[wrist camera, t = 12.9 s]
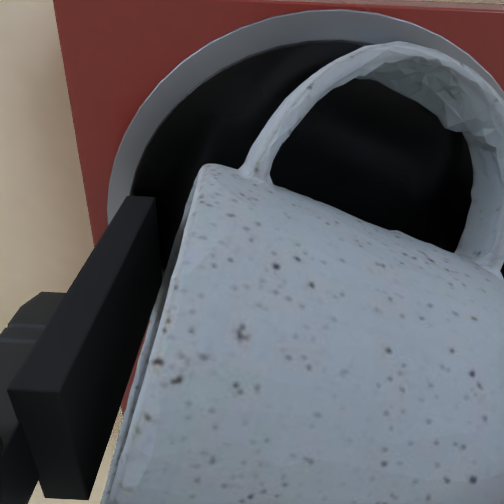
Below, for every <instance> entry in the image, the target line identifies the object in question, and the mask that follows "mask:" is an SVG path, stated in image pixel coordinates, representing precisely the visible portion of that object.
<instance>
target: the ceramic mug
mask: <svg viewBox="0 0 504 504" xmlns="http://www.w3.org/2000/svg"><path fill="white" fill-rule="evenodd" d="M354 78H356V79H371V80H375V81H378V82H380V83H381V84H383V85H385V86H386V87H388V88H390V89H392V90H394V91H396V92H398V93H400V94H402V95H404V96H406V97H408V98H410V99H412V100H414V101H416V102H418V103H419V104H421V105H422V106H424V107H425V108H427V109H428V110H429V111H431V112H432V113H434V114H435V115H436V116H437V117H438V118H439V120H440V122H441V123H442V125H443V126H444V128H446V129H449V130H452V131H455V132H462V133H463V135H464V137H465V139H466V141H467V143H468V147H469V151H470V155H471V160H472V166H473V186H472V190H471V197H472V203H471V206H470V210H469V213H468V216H467V221H466V226H465V229H464V231H463V233H462V236H461V239H460V242H459V245H458V247H457V249H456V251H455V253H451V252H448V251H446V250H443V249H441V248H439V247H437V246H435V245H433V244H430V243H426V242H423V241H420V240H418V239H415V238H413V237H411V236H409V235H406V234H404V233H402V232H400V231H398V230H390V231H389V230H387V229H384V228H381V227H379V226H376V225H373V224H371V223H368V222H365V221H363V220H361V219H359V218H356V217H354V216H352V215H350V214H348V213H346V212H343V211H341V210H339V209H337V208H334V207H332V206H330V205H327V204H325V203H322V202H320V201H315V200H313V199H311V198H310V197H307V196H304V195H301V194H298V193H295V192H292V191H290V190H288V189H286V188H283V187H278V186H276V185H274V184H273V183H272V180H271V177H270V170H271V166H272V163H273V160H274V158H275V156H276V154H277V152H278V150H279V148H280V146H281V145H282V143H283V142H284V141H285V140H286V139H287V138H288V137H289V136H290V134H291V133H292V131H293V130H294V128H295V127H296V126H297V125H298V124H299V122H300V121H301V120H302V119H303V118H304V117H305V115H306V114H307V113H308V112H309V111H310V109H311V108H312V107H313V106H314V105H315V103H316V102H317V101H318V100H320V99H321V98H322V97H323V96H325V95H326V94H327V93H328V92H330V91H331V90H332V89H334V88H336V87H339V86H341V85H343V84H345V83H347V82H348V81H350V80H352V79H354ZM503 263H504V100H503V99H502V98H501V97H500V95H499V94H498V93H497V92H496V91H495V90H494V88H493V87H492V86H491V85H490V84H489V83H487V82H486V81H485V80H484V79H483V78H482V77H481V76H480V75H479V74H478V73H477V72H475V71H474V70H473V69H471V68H470V67H468V66H466V65H465V64H463V63H461V62H459V61H457V60H455V59H453V58H451V57H450V56H448V55H446V54H444V53H442V52H440V51H438V50H436V49H432V48H427V47H423V46H419V45H415V44H412V43H407V42H401V41H395V42H391V43H385V44H377V45H369V46H364V47H361V48H359V49H357V50H355V51H353V52H351V53H349V54H347V55H345V56H342V57H340V58H338V59H336V60H334V61H332V62H331V63H329V64H327V65H326V66H324V67H323V68H321V69H320V70H318V71H317V72H316V73H314V74H313V75H311V76H310V77H309V78H308V79H307V80H305V81H304V82H303V83H302V84H301V85H299V86H298V87H297V88H296V89H295V90H294V91H293V92H292V93H291V94H290V95H289V96H287V97H286V98H285V99H284V101H283V102H282V103H281V105H280V106H279V107H278V109H277V110H276V111H275V112H274V114H273V115H272V116H271V118H270V119H269V121H268V122H267V124H266V125H265V127H264V128H263V130H262V131H261V133H260V134H259V136H258V137H257V139H256V140H255V142H254V143H253V145H252V147H251V148H250V151H249V153H248V155H247V158H246V160H245V162H244V164H243V165H242V166H241V167H240V168H239V169H238V170H237V169H234V168H230V167H227V166H223V165H219V164H205V165H203V166H202V167H201V169H200V170H199V172H198V175H197V177H196V179H195V181H194V185H193V188H192V190H191V192H190V195H189V198H188V201H187V203H186V205H185V211H184V215H183V218H182V221H181V224H180V227H179V229H178V232H177V234H176V237H175V240H174V244H173V247H172V251H171V254H170V257H169V261H168V264H167V267H166V270H165V272H164V274H163V279H162V284H161V287H160V290H159V293H158V296H157V300H156V303H155V307H154V311H153V314H152V317H151V320H150V323H149V326H148V330H147V334H146V338H145V341H144V344H143V347H142V350H141V353H140V356H139V359H138V364H137V369H136V373H135V377H134V381H133V384H132V387H131V390H130V394H129V398H128V403H127V407H126V410H125V412H124V416H123V422H122V425H121V428H120V432H119V435H118V440H117V445H116V448H115V452H114V455H113V458H112V462H111V466H110V470H109V475H108V479H107V483H106V486H105V489H104V493H103V497H102V500H101V504H504V278H503V276H502V274H501V272H500V270H501V268H502V265H503Z"/></svg>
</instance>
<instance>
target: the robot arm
mask: <svg viewBox="0 0 504 504" xmlns="http://www.w3.org/2000/svg"><path fill="white" fill-rule="evenodd" d="M500 272H501V274H502V276H503V278H504V263H503V265H502V268H501V270H500ZM161 284H162V271H161V259H160V247H159V234H158V222H157V210H156V198H155V197H143V196H126V198H125V200H124V201H123V203H122V204H121V206H120V208H119V209H118V211H117V212H116V214H115V216H114V217H113V219H112V220H111V222H110V224H109V225H108V227H107V229H106V230H105V232H104V233H103V235H102V237H101V238H100V240H99V241H98V243H97V245H96V246H95V248H94V249H93V251H92V253H91V254H90V256H89V257H88V259H87V261H86V262H85V264H84V266H83V267H82V269H81V270H80V272H79V274H78V275H77V277H76V278H75V280H74V282H73V283H72V285H71V286H70V288H69V290H68V291H67V293H56V292H41V293H39V294H38V295H36V296H35V297H34V298H32V299H31V300H29V301H28V302H27V303H25V304H24V305H22V306H21V307H20V308H19V310H18V311H17V313H16V314H15V315H14V317H13V318H12V319H11V321H10V322H9V323H8V328H5V329H4V330H3V332H2V333H1V334H0V504H28V502H29V500H30V497H31V495H32V493H33V491H34V488H35V486H36V484H37V482H38V480H39V482H40V485H41V488H42V491H43V494H44V497H45V498H55V499H75V500H89V497H90V494H91V491H92V488H93V485H94V482H95V479H96V476H97V473H98V470H99V467H100V464H101V462H102V459H103V456H104V453H105V450H106V447H107V444H108V441H109V438H110V435H111V432H112V429H113V426H114V423H115V420H116V417H117V414H118V411H119V408H120V405H121V402H122V399H123V396H124V393H125V390H126V387H127V385H128V382H129V379H130V376H131V373H132V370H133V367H134V364H135V361H136V358H137V355H138V352H139V349H140V346H141V343H142V340H143V337H144V334H145V331H146V328H147V325H148V322H149V319H150V316H151V313H152V310H153V307H154V305H155V302H156V299H157V296H158V293H159V290H160V287H161Z"/></svg>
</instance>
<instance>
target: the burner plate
mask: <svg viewBox="0 0 504 504" xmlns="http://www.w3.org/2000/svg"><path fill="white" fill-rule="evenodd" d="M395 41H401V42H407V43H412V44H415V45H419V46H423V47H427V48H432V49H436V50H438V51H440V52H442V53H444V54H446V55H448V56H450V57H451V58H453V59H455V60H457V61H459V62H461V63H463V64H465V65H466V66H468V67H470V68H471V69H473V70H474V71H475V72H477V73H478V74H479V75H480V76H481V77H482V78H483V79H484V80H485V81H486V82H487V83H489V84H490V85H491V86H492V87H493V88H494V90H495V91H496V92H497V93H498V94H499V95H500V97H501V98H502V99H503V100H504V91H503V90H502V89H501V87H500V86H499V85H498V83H497V82H496V81H495V79H494V78H493V77H492V75H491V74H490V73H489V72H487V71H486V70H485V69H484V68H483V67H482V66H481V65H480V64H479V63H478V62H477V61H476V60H475V59H474V58H473V57H472V56H470V55H469V54H468V53H467V52H465V51H464V50H462V49H461V48H459V47H458V46H456V45H455V44H453V43H452V42H450V41H449V40H447V39H446V38H444V37H443V36H441V35H438V34H436V33H434V32H432V31H430V30H427V29H425V28H423V27H421V26H419V25H416V24H414V23H412V22H409V21H406V20H402V19H398V18H395V17H391V16H387V15H384V14H380V13H376V12H367V11H359V10H350V9H313V10H303V11H298V12H292V13H286V14H281V15H275V16H271V17H268V18H265V19H262V20H259V21H256V22H253V23H250V24H247V25H244V26H241V27H239V28H237V29H235V30H233V31H231V32H229V33H227V34H225V35H223V36H221V37H219V38H217V39H215V40H213V41H211V42H209V43H208V44H206V45H205V46H203V47H202V48H201V49H199V50H198V51H196V52H195V53H193V54H192V55H190V56H189V57H188V58H186V59H185V60H183V61H182V62H181V63H180V64H179V65H178V66H177V67H176V68H175V69H174V70H172V71H171V72H170V73H169V74H168V75H167V76H166V77H165V78H164V79H163V80H162V81H161V82H160V83H159V84H158V85H157V86H156V88H155V89H154V90H153V91H152V93H151V94H150V95H149V96H148V98H147V99H146V100H145V101H144V103H143V104H142V105H141V106H140V108H139V109H138V111H137V113H136V114H135V116H134V118H133V120H132V121H131V123H130V125H129V126H128V128H127V130H126V132H125V134H124V136H123V139H122V141H121V144H120V146H119V149H118V152H117V154H116V157H115V160H114V164H113V168H112V173H111V177H110V181H109V190H108V203H107V215H108V225H109V224H110V222H111V220H112V219H113V217H114V216H115V214H116V212H117V211H118V209H119V208H120V206H121V204H122V203H123V201H124V200H125V198H126V196H143V197H155V198H156V210H157V222H158V234H159V247H160V259H161V271H162V279H163V274H164V272H165V270H166V267H167V264H168V261H169V257H170V254H171V251H172V247H173V244H174V240H175V237H176V234H177V232H178V229H179V227H180V224H181V221H182V218H183V215H184V211H185V205H186V203H187V201H188V198H189V195H190V192H191V190H192V188H193V185H194V181H195V179H196V177H197V175H198V172H199V170H200V169H201V167H202V166H203V165H205V164H219V165H223V166H227V167H230V168H234V169H237V170H238V169H239V168H240V167H241V166H242V165H243V164H244V162H245V160H246V158H247V155H248V153H249V151H250V148H251V147H252V145H253V143H254V142H255V140H256V139H257V137H258V136H259V134H260V133H261V131H262V130H263V128H264V127H265V125H266V124H267V122H268V121H269V119H270V118H271V116H272V115H273V114H274V112H275V111H276V110H277V109H278V107H279V106H280V105H281V103H282V102H283V101H284V99H285V98H286V97H287V96H289V95H290V94H291V93H292V92H293V91H294V90H295V89H296V88H297V87H298V86H299V85H301V84H302V83H303V82H304V81H305V80H307V79H308V78H309V77H310V76H311V75H313V74H314V73H316V72H317V71H318V70H320V69H321V68H323V67H324V66H326V65H327V64H329V63H331V62H332V61H334V60H336V59H338V58H340V57H342V56H345V55H347V54H349V53H351V52H353V51H355V50H357V49H359V48H361V47H364V46H369V45H377V44H385V43H391V42H395ZM270 177H271V180H272V183H273V184H274V185H276V186H278V187H283V188H286V189H288V190H290V191H292V192H295V193H298V194H301V195H304V196H307V197H310V198H311V199H313V200H315V201H320V202H322V203H325V204H327V205H330V206H332V207H334V208H337V209H339V210H341V211H343V212H346V213H348V214H350V215H352V216H354V217H356V218H359V219H361V220H363V221H365V222H368V223H371V224H373V225H376V226H379V227H381V228H384V229H387V230H389V231H390V230H398V231H400V232H402V233H404V234H406V235H409V236H411V237H413V238H415V239H418V240H420V241H423V242H426V243H430V244H433V245H435V246H437V247H439V248H441V249H443V250H446V251H448V252H451V253H455V251H456V249H457V247H458V245H459V242H460V239H461V236H462V233H463V231H464V229H465V226H466V221H467V216H468V213H469V210H470V206H471V203H472V197H471V190H472V186H473V166H472V160H471V155H470V151H469V147H468V143H467V141H466V139H465V137H464V135H463V133H462V132H455V131H452V130H449V129H446V128H444V126H443V125H442V123H441V122H440V120H439V118H438V117H437V116H436V115H435V114H434V113H432V112H431V111H429V110H428V109H427V108H425V107H424V106H422V105H421V104H419V103H418V102H416V101H414V100H412V99H410V98H408V97H406V96H404V95H402V94H400V93H398V92H396V91H394V90H392V89H390V88H388V87H386V86H385V85H383V84H381V83H380V82H378V81H375V80H371V79H356V78H354V79H352V80H350V81H348V82H347V83H345V84H343V85H341V86H339V87H336V88H334V89H332V90H331V91H330V92H328V93H327V94H326V95H325V96H323V97H322V98H321V99H320V100H318V101H317V102H316V103H315V105H314V106H313V107H312V108H311V109H310V111H309V112H308V113H307V114H306V115H305V117H304V118H303V119H302V120H301V121H300V122H299V124H298V125H297V126H296V127H295V128H294V130H293V131H292V133H291V134H290V136H289V137H288V138H287V139H286V140H285V141H284V142H283V143H282V145H281V146H280V148H279V150H278V152H277V154H276V156H275V158H274V160H273V163H272V166H271V170H270ZM156 300H157V299H156ZM155 303H156V302H155ZM154 307H155V305H154ZM154 307H153V310H152V313H151V316H150V320H151V317H152V314H153V311H154Z"/></svg>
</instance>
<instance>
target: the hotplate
mask: <svg viewBox="0 0 504 504" xmlns="http://www.w3.org/2000/svg"><path fill="white" fill-rule="evenodd" d="M53 4H54V10H55V16H56V22H57V28H58V33H59V39H60V45H61V51H62V57H63V63H64V69H65V75H66V81H67V87H68V93H69V99H70V105H71V111H72V117H73V123H74V129H75V135H76V140H77V146H78V152H79V158H80V164H81V170H82V176H83V182H84V188H85V194H86V200H87V206H88V212H89V218H90V224H91V230H92V236H93V241H94V247H95V246H96V245H97V243H98V241H99V240H100V238H101V237H102V235H103V233H104V232H105V230H106V229H107V227H108V215H107V203H108V190H109V181H110V177H111V173H112V168H113V164H114V160H115V157H116V154H117V152H118V149H119V146H120V144H121V141H122V139H123V136H124V134H125V132H126V130H127V128H128V126H129V125H130V123H131V121H132V120H133V118H134V116H135V114H136V113H137V111H138V109H139V108H140V106H141V105H142V104H143V103H144V101H145V100H146V99H147V98H148V96H149V95H150V94H151V93H152V91H153V90H154V89H155V88H156V86H157V85H158V84H159V83H160V82H161V81H162V80H163V79H164V78H165V77H166V76H167V75H168V74H169V73H170V72H171V71H172V70H174V69H175V68H176V67H177V66H178V65H179V64H180V63H181V62H182V61H183V60H185V59H186V58H188V57H189V56H190V55H192V54H193V53H195V52H196V51H198V50H199V49H201V48H202V47H203V46H205V45H206V44H208V43H209V42H211V41H213V40H215V39H217V38H219V37H221V36H223V35H225V34H227V33H229V32H231V31H233V30H235V29H237V28H239V27H241V26H244V25H247V24H250V23H253V22H256V21H259V20H262V19H265V18H268V17H271V16H275V15H281V14H286V13H292V12H298V11H303V10H313V9H350V10H359V11H367V12H376V13H380V14H384V15H387V16H391V17H395V18H398V19H402V20H406V21H409V22H412V23H414V24H416V25H419V26H421V27H423V28H425V29H427V30H430V31H432V32H434V33H436V34H438V35H441V36H443V37H444V38H446V39H447V40H449V41H450V42H452V43H453V44H455V45H456V46H458V47H459V48H461V49H462V50H464V51H465V52H467V53H468V54H469V55H470V56H472V57H473V58H474V59H475V60H476V61H477V62H478V63H479V64H480V65H481V66H482V67H483V68H484V69H485V70H486V71H487V72H489V73H490V74H491V75H492V77H493V78H494V79H495V81H496V82H497V83H498V85H499V86H500V87H501V89H502V90H503V91H504V4H484V3H460V2H437V1H413V0H53ZM149 323H150V319H149V322H148V325H147V328H146V331H145V334H144V337H143V340H142V343H141V346H140V349H139V352H138V355H137V358H136V361H135V364H134V367H133V370H132V373H131V376H130V379H129V382H128V385H127V387H126V390H125V393H124V396H123V399H122V402H121V408H122V414H123V416H124V412H125V410H126V407H127V403H128V398H129V394H130V390H131V387H132V384H133V381H134V377H135V373H136V369H137V364H138V359H139V356H140V353H141V350H142V347H143V344H144V341H145V338H146V334H147V330H148V326H149Z"/></svg>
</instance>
